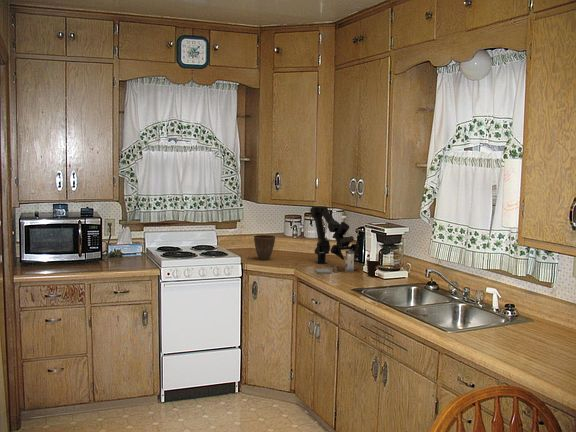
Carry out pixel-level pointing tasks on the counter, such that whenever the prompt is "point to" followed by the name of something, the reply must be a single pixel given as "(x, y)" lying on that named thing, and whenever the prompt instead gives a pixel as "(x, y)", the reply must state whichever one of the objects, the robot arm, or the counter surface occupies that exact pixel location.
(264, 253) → the plant pot
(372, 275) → the coffee mug
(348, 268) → the steel canister
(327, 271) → the slate pad
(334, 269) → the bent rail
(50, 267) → the counter surface
